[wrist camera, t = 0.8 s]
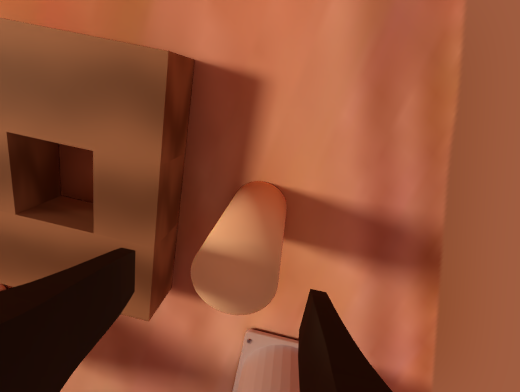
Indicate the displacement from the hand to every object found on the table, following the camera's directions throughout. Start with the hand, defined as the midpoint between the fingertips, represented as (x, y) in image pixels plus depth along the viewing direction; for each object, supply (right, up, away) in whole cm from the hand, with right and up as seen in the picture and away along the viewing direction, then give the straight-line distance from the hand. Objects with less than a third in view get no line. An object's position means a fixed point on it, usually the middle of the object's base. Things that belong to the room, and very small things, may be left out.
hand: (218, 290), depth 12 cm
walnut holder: (-11, +6, +11) cm, 16 cm away
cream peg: (+2, +3, +10) cm, 10 cm away
